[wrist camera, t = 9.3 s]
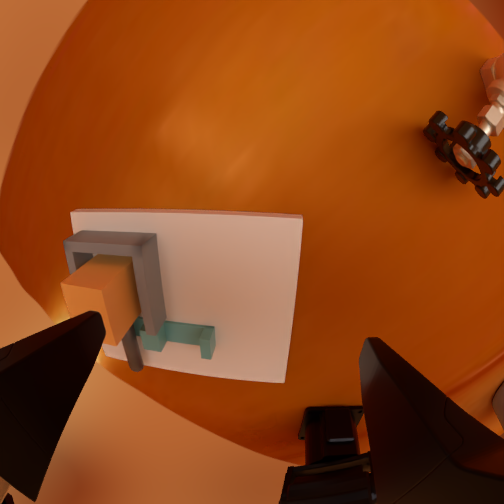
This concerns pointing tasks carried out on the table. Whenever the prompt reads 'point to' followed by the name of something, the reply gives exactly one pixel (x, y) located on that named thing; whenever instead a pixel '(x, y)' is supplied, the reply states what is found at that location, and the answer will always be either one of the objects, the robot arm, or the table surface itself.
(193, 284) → the board
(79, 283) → the block
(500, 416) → the water bottle
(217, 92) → the table surface
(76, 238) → the end holder
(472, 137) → the valve
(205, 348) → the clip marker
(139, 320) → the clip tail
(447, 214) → the table surface
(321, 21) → the table surface
